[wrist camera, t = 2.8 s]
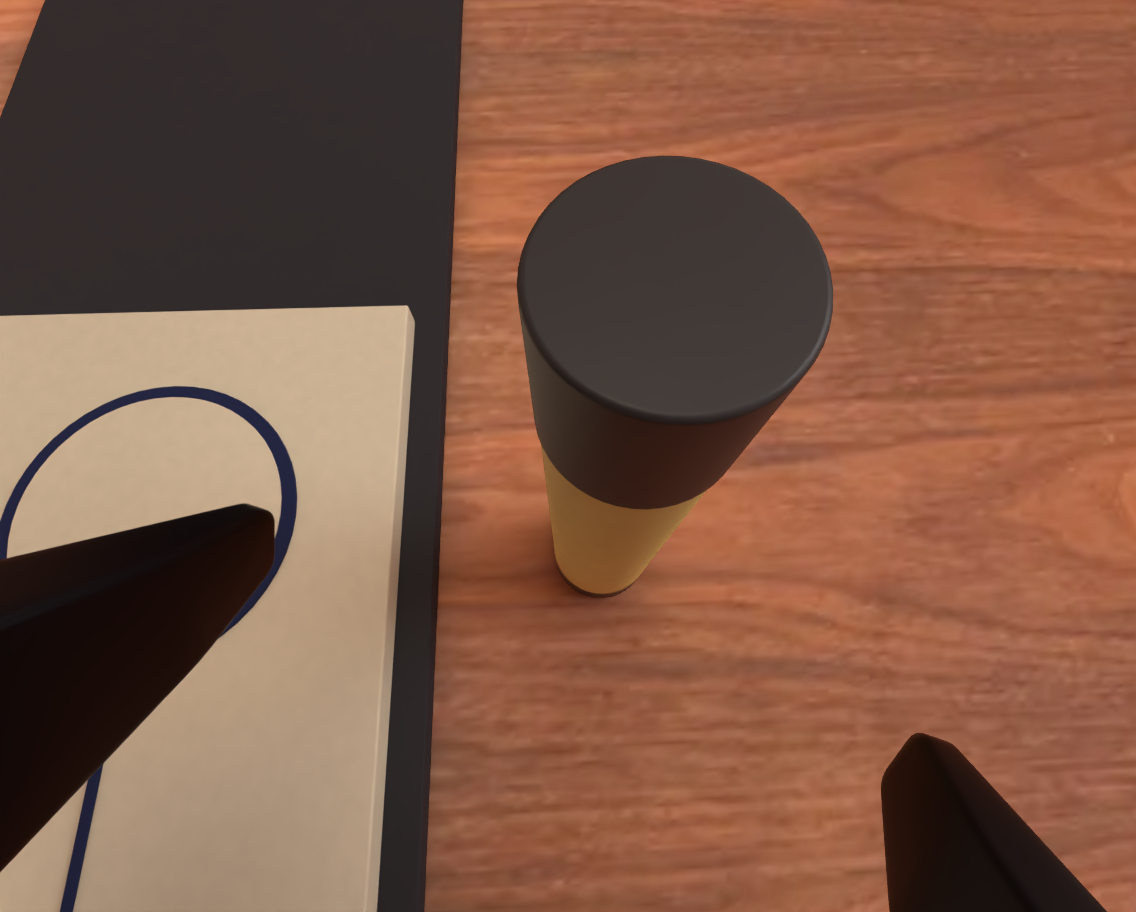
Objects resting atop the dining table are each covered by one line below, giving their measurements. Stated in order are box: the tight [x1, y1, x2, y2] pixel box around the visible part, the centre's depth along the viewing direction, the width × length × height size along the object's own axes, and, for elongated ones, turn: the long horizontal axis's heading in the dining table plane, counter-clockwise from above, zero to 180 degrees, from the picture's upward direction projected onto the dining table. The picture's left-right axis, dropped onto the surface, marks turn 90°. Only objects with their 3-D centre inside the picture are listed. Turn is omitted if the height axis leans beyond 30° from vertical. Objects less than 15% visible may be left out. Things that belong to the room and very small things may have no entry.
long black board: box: [0, 0, 463, 912], centre depth 25 cm, size 66×18×2 cm, turn 2°
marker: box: [517, 156, 833, 598], centre depth 12 cm, size 3×3×14 cm
